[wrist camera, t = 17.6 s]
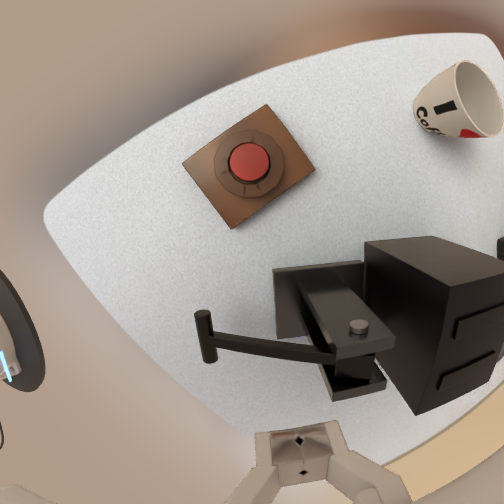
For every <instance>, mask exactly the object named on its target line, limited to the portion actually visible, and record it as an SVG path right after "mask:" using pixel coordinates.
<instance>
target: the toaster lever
mask: <svg viewBox="0 0 504 504" xmlns="http://www.w3.org/2000/svg"><path fill="white" fill-rule="evenodd" d="M194 317H195V322H196V327H197V333H198V338H199V343H200V348H201V352H202V357H203V361H204V362H205V363H208V364H211V363H215V362H216V361H217V360H218V354H217V349H216V347H217V348H222V349H227V350H232V351H237V352H243V353H248V354H254V355H260V356H266V357H272V358H278V359H285V360H292V361H300V362H308V363H317V364H326V365H335V377H344V378H357V379H371V376H372V371H373V365H374V359H375V353H370V354H365V355H361V356H356V357H351V358H345V359H340V360H336V359H335V357H334V355H333V353H332V351H331V349H330V347H326V346H315V345H305V344H296V343H288V342H280V341H273V340H265V339H258V338H252V337H245V336H239V335H233V334H227V333H222V332H216V331H213V325H212V319H211V313H210V311H209V310H199V311H196V312H195V313H194Z"/></svg>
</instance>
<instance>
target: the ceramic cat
mask: <svg viewBox="0 0 504 504" xmlns="http://www.w3.org/2000/svg"><path fill="white" fill-rule="evenodd" d="M497 249H498V259H500V260H502V261H504V237H503V238H501V239H498V248H497Z"/></svg>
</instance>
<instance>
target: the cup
mask: <svg viewBox="0 0 504 504" xmlns="http://www.w3.org/2000/svg"><path fill="white" fill-rule="evenodd" d="M413 110H414V114H415V117H416V119H417V121H418V123H419V124H420V126H421V127H422V128H423V129H425V130H426V131H428V132H431V133H434V134H438V135H442V136H447V137H459V138H480V137H495V136H497V135H498V134H499V133H500V132H501V130H502V127H503V109H502V104H501V100H500V97H499V95H498V92H497V90H496V88H495V86H494V84H493V83H492V81H491V80H490V78H489V77H488V76H487V74H486V73H485V72H484V71H483V70H482V69H481V68H480V67H479V66H477V65H476V64H475V63H473V62H471V61H467V60H462V61H459V62H458V63H456V64H454V65H453V66H451V67H450V68H448V69H446V70H445V71H443V72H441V73H440V74H438V75H437V76H436V77H435V78H434V79H432V80H431V81H430V82H429V83H428V84H427V85H426V86H425V87H424V88H423V89H422V90H421V92H420V93H419V95H418V96H417V98H416V99H415V101H414V104H413Z"/></svg>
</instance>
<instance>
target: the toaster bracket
mask: <svg viewBox="0 0 504 504" xmlns="http://www.w3.org/2000/svg"><path fill="white" fill-rule="evenodd" d="M272 273H273V288H274V303H275V320H276V335H277V339H284V338H292V337H301V336H307V339H308V341H309V344H310V345H315V346H326V347H330V349H331V351H332V353H333V355H334V357H335V359H336V360H340V359H345V358H351V357H356V356H361V355H365V354H370V353H375V352H379V351H383V350H388V349H392V348H394V346H395V340H396V335H395V334H394V333H393V332H392V331H391V330H390V329H389V328H388V327H387V326H386V325H385V324H384V323H383V322H382V321H381V320H380V318H379V317H378V316H377V315H376V314H375V313H374V312H373V311H372V310H371V309H370V308H369V307H368V306H367V305H366V304H365V303H364V302H363V283H364V262H362V261H361V260H355V261H346V262H336V263H327V264H317V265H307V266H297V267H287V268H276V269H272ZM318 367H319V369H320V372H321V375H322V377H323V380H324V382H325V385H326V387H327V390H328V393H329V395H330V398H331V400H332V402H334V401H339V400H344V399H349V398H353V397H358V396H362V395H366V394H370V393H374V392H378V391H381V390H385V388H386V384H387V379H386V378H385V376H384V375H383V373H382V372H381V371H380V369H379V368H378V366H377V365H376V363H375V362H374V365H373V371H372V376H371V379H357V378H344V377H335V365H326V364H318Z"/></svg>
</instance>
